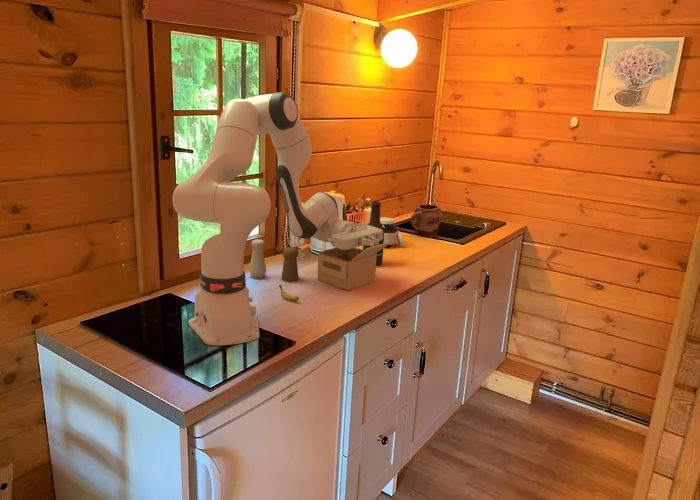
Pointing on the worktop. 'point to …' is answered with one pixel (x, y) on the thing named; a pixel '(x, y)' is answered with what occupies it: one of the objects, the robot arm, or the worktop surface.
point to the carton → (346, 268)
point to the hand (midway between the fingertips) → (376, 243)
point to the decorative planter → (426, 220)
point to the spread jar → (391, 232)
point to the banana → (287, 296)
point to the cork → (290, 265)
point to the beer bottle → (376, 223)
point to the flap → (370, 251)
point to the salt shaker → (257, 260)
